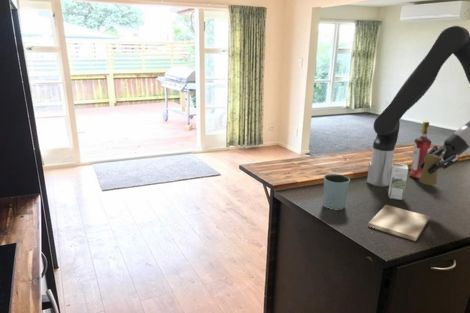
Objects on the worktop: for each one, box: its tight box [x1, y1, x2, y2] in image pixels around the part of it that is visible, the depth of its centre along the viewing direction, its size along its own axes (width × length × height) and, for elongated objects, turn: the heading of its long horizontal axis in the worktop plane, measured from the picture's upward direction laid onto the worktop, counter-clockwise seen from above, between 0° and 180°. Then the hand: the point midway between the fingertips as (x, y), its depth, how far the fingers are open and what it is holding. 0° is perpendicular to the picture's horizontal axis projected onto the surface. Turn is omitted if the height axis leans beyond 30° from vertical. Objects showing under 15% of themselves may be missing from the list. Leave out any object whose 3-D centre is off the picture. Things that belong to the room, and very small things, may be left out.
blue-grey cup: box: [322, 173, 351, 210], centre depth 146 cm, size 10×10×12 cm
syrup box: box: [387, 162, 409, 201], centre depth 155 cm, size 6×6×14 cm
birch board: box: [367, 204, 430, 242], centre depth 134 cm, size 16×20×2 cm
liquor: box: [409, 121, 432, 180], centre depth 177 cm, size 7×7×28 cm
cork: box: [418, 154, 439, 186], centre depth 140 cm, size 6×6×11 cm
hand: (425, 170), depth 140 cm, fingers closed on cork, 5 cm apart
